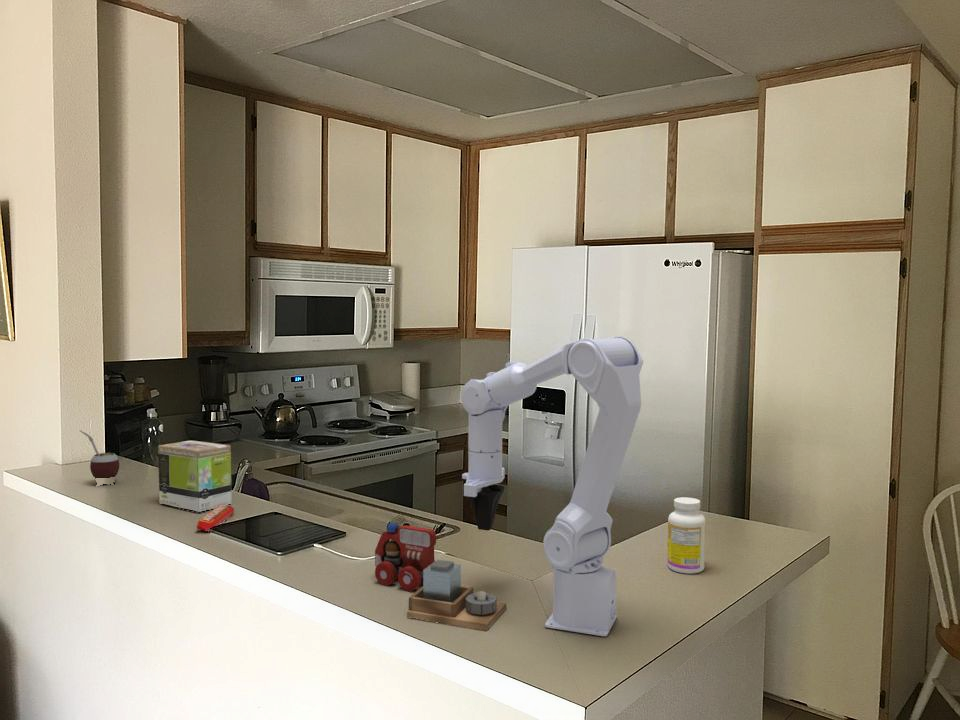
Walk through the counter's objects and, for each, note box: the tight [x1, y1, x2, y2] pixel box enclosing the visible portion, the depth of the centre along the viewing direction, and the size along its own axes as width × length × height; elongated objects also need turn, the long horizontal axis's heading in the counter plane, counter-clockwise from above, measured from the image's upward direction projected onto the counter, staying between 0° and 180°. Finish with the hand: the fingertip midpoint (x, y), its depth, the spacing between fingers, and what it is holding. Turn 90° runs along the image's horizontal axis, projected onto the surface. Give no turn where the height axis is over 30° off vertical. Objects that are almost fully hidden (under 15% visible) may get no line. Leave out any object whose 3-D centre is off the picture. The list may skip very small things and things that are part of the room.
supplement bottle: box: [667, 496, 706, 575], centre depth 143 cm, size 7×7×13 cm
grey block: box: [422, 559, 462, 603], centre depth 123 cm, size 4×4×7 cm
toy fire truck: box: [374, 521, 437, 592], centre depth 136 cm, size 7×12×10 cm, turn 58°
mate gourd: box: [79, 430, 120, 479], centre depth 207 cm, size 8×8×15 cm
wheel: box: [466, 592, 498, 615], centre depth 121 cm, size 5×5×2 cm
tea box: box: [157, 440, 233, 511], centre depth 186 cm, size 15×10×15 cm, turn 58°
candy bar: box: [196, 504, 235, 531], centre depth 172 cm, size 16×4×3 cm, turn 179°
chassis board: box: [406, 585, 507, 632], centre depth 122 cm, size 13×9×4 cm
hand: (485, 528), depth 132 cm, fingers closed
